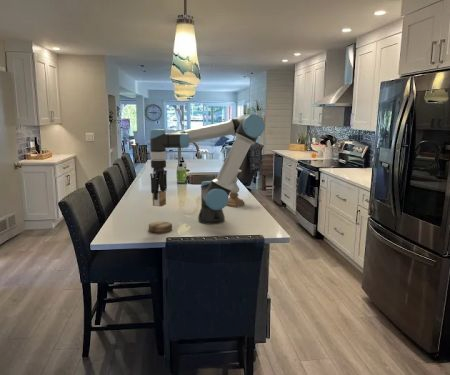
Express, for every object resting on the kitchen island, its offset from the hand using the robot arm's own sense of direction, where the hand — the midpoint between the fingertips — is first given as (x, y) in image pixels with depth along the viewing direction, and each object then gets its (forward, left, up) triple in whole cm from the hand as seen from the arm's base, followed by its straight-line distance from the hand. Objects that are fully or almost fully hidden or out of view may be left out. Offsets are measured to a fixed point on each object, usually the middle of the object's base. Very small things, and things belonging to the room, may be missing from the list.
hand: (159, 204), depth 192 cm
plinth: (0, 0, -14) cm, 14 cm away
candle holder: (-20, -67, -14) cm, 71 cm away
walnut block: (0, 0, 0) cm, 0 cm away
